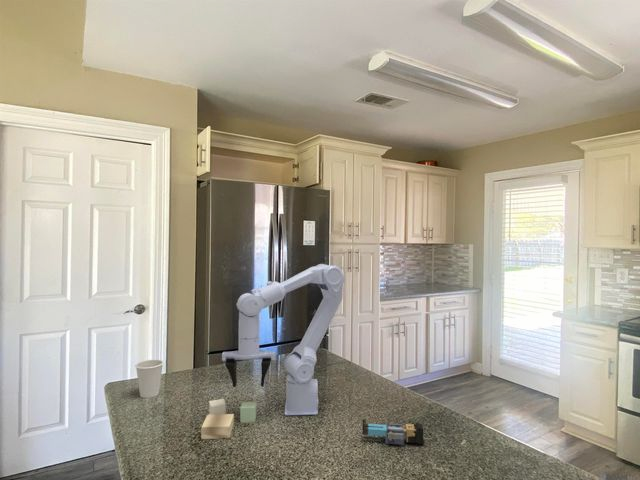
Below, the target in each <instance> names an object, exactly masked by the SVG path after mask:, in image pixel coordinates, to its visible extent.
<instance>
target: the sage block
mask: <svg viewBox="0 0 640 480" xmlns="http://www.w3.org/2000/svg"><path fill="white" fill-rule="evenodd" d="M257 403H258V402H257V401H242V402H241V404H240V408H239V409H240V411H239V414H240V416H239V417H240V419H239V420H240V423H255V422H256V418H257V415H258V413H257V406H258V405H257Z"/></svg>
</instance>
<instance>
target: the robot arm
mask: <svg viewBox="0 0 640 480" xmlns="http://www.w3.org/2000/svg"><path fill="white" fill-rule="evenodd" d="M345 280H346V278H345V275H344V272H343V271H342V269H341V268H340V267H339V266H338V265H334V264H333V265H329V264H325V263H319V264H317V265H314V266H310V267H309V268H307V269H305V270H303V271H301V272H299V273H297V274H295V275H293V276H292V277H290V278H288V279H286V280H284V281H282V282H279V281H271V280H269V281H267V282H266V285H264V286H262V287H260V288H256V289H255V288H252V289H251V292H247V293H243V294H241V295H240V296H239V297H238V299H237V302H236V308H237V310H238V350H234V351H223V352H222V354H221V361H222V362H224V361H225V363H224V364H225V368H226V369H227V370H228V371H227V372H228V373H229V376H230V379H231V383H232V387H233V388H236V387H237V385H238V384H237V383H238V378H237V375H238V374H237V368H238V367H237V364H238V363H237V361H242V360H243V361H244V360H245V361H249V360H251V361H252V360H254V361H255V360H261V363H260V364H261V366H260V367H261V368H260V369H261V370H260V371H261V378H260V379H261V380H260V387H264V385H265V379H266V375H267V372H268V370H269V368H270V366H271V363H272V361H275V360H276V351H274V350H273V351H272V350H271V351H270V350H260V313H261V312H262V309H266V308H268V307H270V306H273V305H274V304H276V303H278V302H280V301H283V300H284V298H285V296H286V294H287V293H289V292H292V291H294V290H296V289H299V288H301V287H303V286H306V285H308V284H316V285H317V286H318V287H319V288H320V291H321V293H322V299H321V302H320V304H319V306H318V307H317V310H316V312H315V314H314V315H313V317H312V319H311V322H310V323H309V326H308V327H307V329H306V331H305V333H304V335H303V337H302V339H301V341H300V343H299V344H298V345H296V346H295V347H294V348H293V349H292V351H291V353H289V354H288V355H287V356H286V357H285V358H284V362H283V367H284V369H285V371H286V372H287V375H286V377H285V379H286V381H285V382H286V383H285V384H286V385H285V386H286V388H285V389H286V391H285V392H286V395H285V396H286V397H285V398H286V400H285V402H284V416H317V415H318V414H319V413H318V410H319V407H318V406H319V387H318V379H317V378H313V377H314V373H315V366H316V364H317V351H318V349H319V346H320V345H321V343H322V340H323V339H324V337H325V334H326V333H327V331H328V328H329V327H330V325H331V323H332V321H333V319H334V317H335V314H336V313H337V311H338V309H339V306H340V304H341V303H342V300H343V289H344V282H345Z"/></svg>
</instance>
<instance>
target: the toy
mask: <svg viewBox="0 0 640 480" xmlns="http://www.w3.org/2000/svg"><path fill="white" fill-rule="evenodd" d="M361 423H362V424H361V426H362V427H361V428H362V431H361V433H362V435H365V436H379V437H384V441H382V440H379V443H380V444H382V445H383V444H387V445H398V446H402V447H403V446H405V443H415V444H424V443H425V439H424V427H423V424H422V423H420V422H419V421H417V422H416V423H413V424H412V423H411V424H410V423H405V425H404V424H403V423H391V422H387V423H386V424H377V423H367V419H366V418H363V419H362V422H361ZM405 440H406V441H405Z"/></svg>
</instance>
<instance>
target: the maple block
mask: <svg viewBox="0 0 640 480" xmlns="http://www.w3.org/2000/svg"><path fill="white" fill-rule="evenodd" d="M234 426H235V414H234V413H226V414H211V415H209V414H207V415H206V417H205V419H204V421H203V424H202V426H201V427H200V428H201V430H200V431H201V432H200V433H201V435H200V436H201V438H200V439H201V440H214V439H216V440H219V439H221V440H222V439H223V438H225V439H230V438H231V436H232V433H233V429H234Z"/></svg>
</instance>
